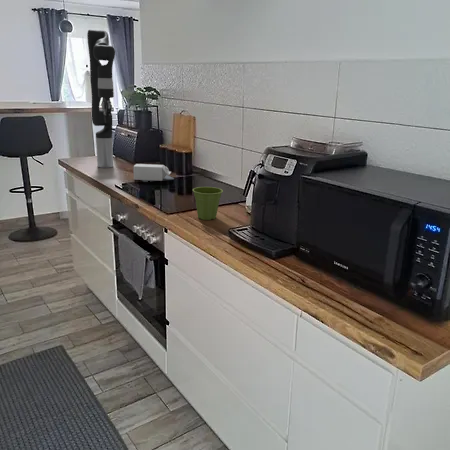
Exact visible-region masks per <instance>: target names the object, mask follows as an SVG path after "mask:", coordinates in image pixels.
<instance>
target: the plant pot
mask: <svg viewBox="0 0 450 450" xmlns="http://www.w3.org/2000/svg"><path fill="white" fill-rule="evenodd" d="M192 192H193V194H194V198H195V205H196V214H197V218H198V219H200V220H203V221H211V220H215V219H217V214H218V209H219V206H220V205H219V204H220V201H221V197H222V193H223V192H224V190H223V189H222V188H220V187H215V186H214V187H213V186H198V187H194V188H192Z"/></svg>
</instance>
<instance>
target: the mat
mask: <svg viewBox="0 0 450 450" xmlns="http://www.w3.org/2000/svg"><path fill="white" fill-rule="evenodd" d="M172 180H174V181H175V178H174V177H172V176H171V175H167V176H166V177H165V178H164V179H163V180H162V181H172ZM148 181H150V182H158V181H157V180H141V182H143V183H149V182H148ZM162 181H161V182H162Z"/></svg>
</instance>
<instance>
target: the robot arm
mask: <svg viewBox="0 0 450 450" xmlns="http://www.w3.org/2000/svg"><path fill="white" fill-rule="evenodd" d="M86 35H87V36H86V37H87V45H88V56H89V76H90V77H89V78H90V89H91V121H92V122H91V123H92V124H93V126H96V127H102V126H103V128H102V129H101V130H99V131H97V132H96V133H95V145H96V146H95V147H96V163H97V164H96V165H97V168H101V169H102V168H104V169H106V168H107V169H108V168H113V167H114V152H113V149H114V147H113V114H112V113H113V112H112V108H113V105H112V101H111V99H114V96H115V95H114V94H115V93H114V80H113V65H114V60H115V57H116V50H115V48H114V47H113V45H110V38H109V34H108V32H107V31H106V30H102V29H88V30H87V34H86ZM100 61H106V62H107V63H106V64H102V63H101V62H100ZM101 100H102V101H101ZM100 105H101V109H100Z"/></svg>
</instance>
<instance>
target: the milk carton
mask: <svg viewBox="0 0 450 450" xmlns="http://www.w3.org/2000/svg"><path fill="white" fill-rule="evenodd" d="M170 174H172V171H170V170H169V168H168V167H167V166H165V165H164V164H150V163H148V164H147V163H135V164H134V165H133V180H136V181H139V180H140V181H142V180H157V181H156V182H159V181H160V182H162V180H163V179H164V178H165V177H166V176H167V175H169V176H171V175H170ZM163 181H164V180H163Z"/></svg>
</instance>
